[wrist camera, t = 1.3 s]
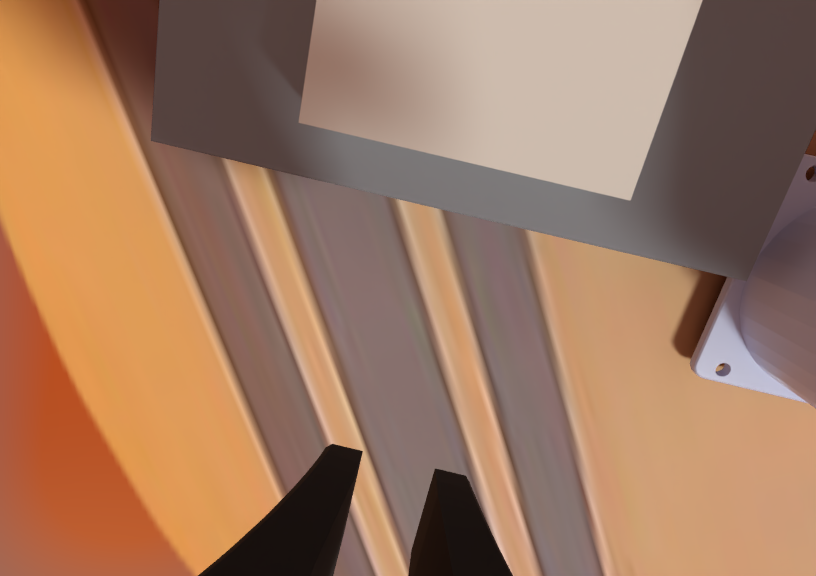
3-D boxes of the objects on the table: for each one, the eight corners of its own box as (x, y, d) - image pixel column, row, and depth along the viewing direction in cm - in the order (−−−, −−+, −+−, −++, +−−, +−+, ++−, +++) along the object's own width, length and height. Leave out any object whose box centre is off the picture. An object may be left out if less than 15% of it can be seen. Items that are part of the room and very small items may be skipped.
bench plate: (863, -149, 13) (979, -230, 10) (694, 258, 17) (746, 281, 14) (239, -292, 13) (184, -412, 11) (200, 142, 17) (150, 140, 14)
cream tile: (663, -4, 12) (717, -41, 10) (597, 191, 14) (630, 200, 11) (357, -75, 12) (335, -130, 10) (323, 127, 14) (298, 122, 11)
